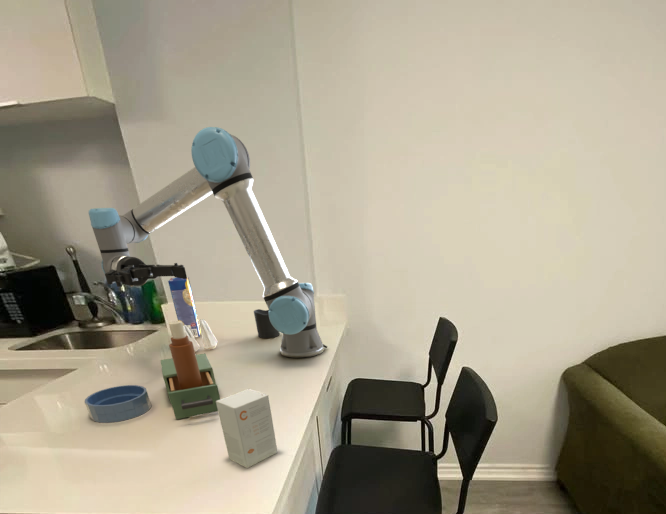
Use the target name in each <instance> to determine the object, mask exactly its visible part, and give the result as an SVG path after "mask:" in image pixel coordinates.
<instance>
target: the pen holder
mask: <svg viewBox="0 0 666 514" xmlns="http://www.w3.org/2000/svg"><path fill="white" fill-rule="evenodd" d="M268 312H269V309H266V310H264V309H261V308H260V309H254V310H253V315H254V321H255V325H256V331H257V335H258V337H259V338H261V339H273V338H277V337H279V336H280V334H281V332H279V331H278V330H276V329H275V328H274V327H273V325H272V324H271V322H270V319H269V313H268Z"/></svg>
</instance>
